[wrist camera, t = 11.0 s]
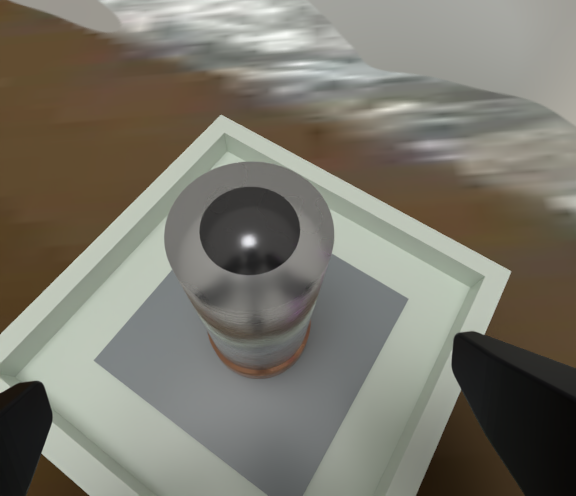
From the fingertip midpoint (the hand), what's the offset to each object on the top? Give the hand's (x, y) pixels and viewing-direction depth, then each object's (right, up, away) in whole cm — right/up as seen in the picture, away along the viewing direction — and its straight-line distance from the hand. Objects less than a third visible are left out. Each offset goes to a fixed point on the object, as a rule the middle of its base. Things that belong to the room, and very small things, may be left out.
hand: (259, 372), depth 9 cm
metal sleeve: (-1, -1, +11) cm, 11 cm away
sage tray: (-1, -2, +12) cm, 12 cm away
